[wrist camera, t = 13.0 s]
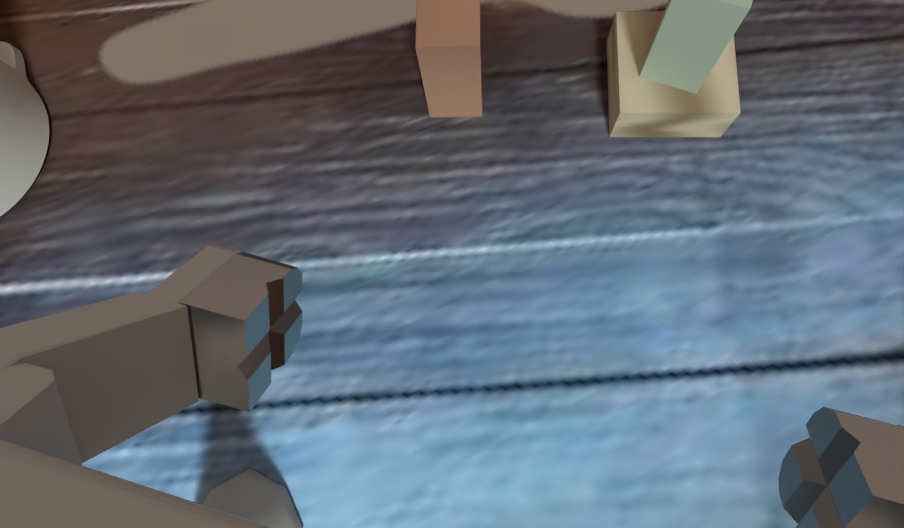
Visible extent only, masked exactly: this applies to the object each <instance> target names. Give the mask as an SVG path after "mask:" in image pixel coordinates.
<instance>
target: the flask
mask: <svg viewBox="0 0 904 528" xmlns="http://www.w3.org/2000/svg"><path fill="white" fill-rule="evenodd" d="M202 505H204V506H207V507H211V508H214V509H217V510H220V511H223V512H226V513H229V514H232V515H235V516H238V517H241V518H244V519H248V520H251V521H254V522H257V523H260V524H263V525H266V526H269V527H272V528H303V527H302V525H301V523H300V520H299V518H298V515H297V513H296V510H295V508H294V506H293V503H292V501H291V498H290V496H289V493H288V491H287V489H286V488H285V487H283V486H282V485H280V484H278V483H276V482H274V481H273V480H271V479H269V478H267V477H265V476H263V475H262V474H260V473H258V472H256V471H254V470H253V469H251V468H249V469H247V470H245V471H244V472H242V473H240V474H238V475H236V476H234V477H232V478H230V479H228V480H227V481H225V482H223V483H221V484H219V485H217V486H215V487H213V488H211V490H210V491H209V493H208V494H207V496H206V498H205V499H204V501H203V503H202Z"/></svg>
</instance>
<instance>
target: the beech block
mask: <svg viewBox="0 0 904 528" xmlns="http://www.w3.org/2000/svg"><path fill="white" fill-rule="evenodd" d="M663 13H664V11H617V12H616V14H615V17H614V20H613V24H612V27H611V30H610V33H609V36H608V39H607V73H608V104H609V136H610V137H720V136H721V135H722V134H723V133H724V132H725V131H726V129H727V128H728V127H729V126H730V125H731V123H732V122H733V121H734V120H735V119H736V118H737V116H738V115H739V114H740V113H741V112H740V101H739V90H738V79H737V68H736V57H735V46H734V35H733V37H732V38H731V40H730V41H729V43H728V45H727V46H726V48H725V49H724V51H723V53H722V54H721V56H720V57H719V59H718V61H717V62H716V64H715V65H714V67H713V69H712V70H711V72H710V73H709V75H708V77H707V78H706V80H705V81H704V83H703V85H702V86H701V88H700V89H699V91H698V93H697V94H694V93H691V92H687V91H684V90H681V89H677V88H674V87H671V86H667V85H664V84H661V83H657V82H654V81H651V80H647V79H644V78H641V77H640V74H641V71H642V68H643V66H644V63H645V60H646V58H647V55H648V52H649V49H650V47H651V44H652V41H653V39H654V36H655V33H656V30H657V28H658V25H659V23H660V21H661V18H662V16H663Z"/></svg>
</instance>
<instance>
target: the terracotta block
mask: <svg viewBox="0 0 904 528" xmlns="http://www.w3.org/2000/svg"><path fill="white" fill-rule="evenodd" d="M416 52H417V57H418V62H419V67H420V72H421V76H422V81H423V86H424V91H425V95H426V100H427V105H428V110H429V115H430V117H473V116H482V50H481V11H480V0H417V11H416Z"/></svg>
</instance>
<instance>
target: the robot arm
mask: <svg viewBox="0 0 904 528" xmlns="http://www.w3.org/2000/svg"><path fill="white" fill-rule="evenodd" d="M48 143H49V120H48V115H47V112H46V109H45V106H44V104H43V102H42V100H41V98H40V96H39V95H38V93H37V92H36V91H35V89H34V88H33V87H32V85H31V84H30V83H29V81H28V79H27V77H26V69H25V63H24V58H23V55H22V53H21V52H20V50H19V49H17V48H15V47H14V46H12V45H10V44H9V43H6V42H0V216H1V215H3V214H4V213H6V212H7V211H8V210H9V209H10V208H12V207H13V206H14V205H15V204H16V203H17V202H18V201H19V200H20V199H21V198H22V197H23V195H24V194H25V193H26V192H27V191H28V189H29V188H30V187H31V185H32V184H33V182H34V180H35V179H36V177H37V175H38V173H39V171H40V169H41V167H42V165H43V162H44V159H45V156H46V153H47V148H48ZM302 290H303V287H302V273H301V271H300V270H299V269H298V268H297V267H294V266H290V265H287V264H283V263H280V262H276V261H273V260H269V259H266V258H262V257H259V256H255V255H252V254H248V253H245V252H240V251H237V250H234V249H230V248H226V247H222V246H219V245H210V246H207V247H205V248H204V249H203V250H202V251H200V252H199V253H198V254H197V255H195V256H194V257H193V258H192V259H190V260H189V261H188V262H187V263H185V264H184V265H183V266H181V267H180V268H179V269H178V270H176V271H175V272H174V273H173V274H171V275H170V276H169V277H168V278H166V279H165V280H164V281H163V282H161V283H160V284H159V285H158V286H156V287H155V288H154V289H153V290H151V291H150V292H149V293H148V294H143V293H139V292H136V293H132V294H128V295H124V296H121V297H117V298H113V299H109V300H105V301H102V302H98V303H94V304H90V305H87V306H83V307H79V308H75V309H72V310H68V311H64V312H60V313H56V314H53V315H49V316H45V317H41V318H38V319H34V320H30V321H26V322H22V323H19V324H15V325H11V326H7V327H4V328H0V528H272V527H269V526H266V525H263V524H260V523H257V522H254V521H251V520H248V519H244V518H241V517H238V516H235V515H232V514H229V513H226V512H223V511H220V510H217V509H214V508H211V507H207V506H204V505H201V504H198V503H195V502H192V501H189V500H186V499H183V498H180V497H177V496H174V495H170V494H167V493H164V492H161V491H158V490H155V489H152V488H149V487H146V486H143V485H140V484H137V483H134V482H130V481H127V480H124V479H121V478H118V477H115V476H112V475H109V474H106V473H103V472H100V471H97V470H93V469H90V468H87V467H84V466H82V463H83V462H85V461H87V460H89V459H91V458H93V457H95V456H97V455H98V454H100V453H102V452H104V451H106V450H108V449H110V448H112V447H113V446H115V445H117V444H119V443H121V442H123V441H125V440H127V439H129V438H130V437H132V436H134V435H136V434H138V433H140V432H142V431H144V430H145V429H147V428H149V427H151V426H153V425H155V424H157V423H159V422H161V421H162V420H164V419H166V418H168V417H170V416H172V415H174V414H176V413H177V412H179V411H181V410H183V409H185V408H187V407H189V406H191V405H193V404H194V403H196V402H198V401H199V398H200V399H204V400H208V401H211V402H215V403H219V404H223V405H226V406H230V407H234V408H237V409H241V410H245V411H249V412H250V411H251V409H252V408H253V407H254V405H255V404H256V403H257V401H258V400H259V399H260V397H261V396H262V395H263V393H264V392H265V391H266V389H267V388H268V387H269V385H270V384H271V370H273V369H276V368H278V367H281V366H283V365H285V364H286V362H287V361H288V359H289V358H290V357H291V355H292V354H293V352H294V349H295V347H296V345H297V342H298V340H299V337H300V333H301V327H302V310H301V309H300V307H299V306H298V304H297V303H296V301H295V299H296V297H297V296H298V295H299V294H300V293H301V291H302ZM806 427H807V431H808V434H809V437H810V438H808V439H806V440H803V441H801V442H799V443H796V444H794V445H792V446H791V448H790V449H789V451H788V452H787V454H786V456H785V457H784V459H783V461H782V465H781V469H780V474H779V494H780V497H781V501H782V505H783V508H784V509H785V510H786V511H787V512H788V513H789V515H790V516H791V517H792V518H793V519H794V520H795V521H796V522H797V523H798V525H797V526H796V528H904V426H902V425H893V424H889V423H885V422H881V421H877V420H873V419H869V418H866V417H862V416H858V415H854V414H850V413H846V412H842V411H838V410H835V409H831V408H827V407H822V408H821V409H819V410H818V411H816V412H815V413H814V414H813V415H812V417H811V418H810V420H809V421H808V422H807V424H806Z"/></svg>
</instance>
